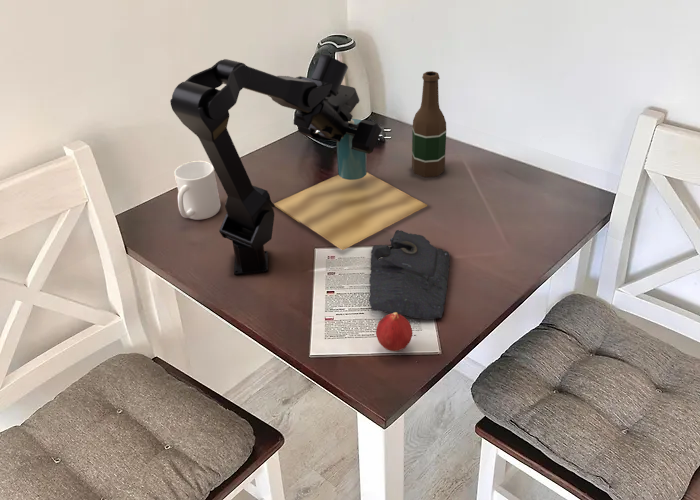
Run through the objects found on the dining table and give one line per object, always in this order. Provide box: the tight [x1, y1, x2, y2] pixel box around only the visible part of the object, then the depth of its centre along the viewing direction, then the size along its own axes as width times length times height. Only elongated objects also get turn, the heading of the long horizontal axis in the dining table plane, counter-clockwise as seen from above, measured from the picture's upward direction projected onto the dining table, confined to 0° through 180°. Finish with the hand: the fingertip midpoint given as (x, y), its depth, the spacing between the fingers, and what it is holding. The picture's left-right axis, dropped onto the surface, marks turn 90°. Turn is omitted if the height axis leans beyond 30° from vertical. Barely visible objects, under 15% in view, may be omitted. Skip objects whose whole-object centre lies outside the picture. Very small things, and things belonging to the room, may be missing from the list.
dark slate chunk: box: [368, 229, 451, 320], centre depth 121 cm, size 15×22×5 cm
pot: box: [335, 118, 368, 180], centre depth 146 cm, size 7×7×13 cm
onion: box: [375, 312, 413, 352], centre depth 106 cm, size 6×6×8 cm
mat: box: [273, 172, 428, 251], centre depth 144 cm, size 24×24×1 cm
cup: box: [173, 160, 221, 221], centre depth 141 cm, size 8×12×10 cm
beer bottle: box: [411, 70, 447, 178], centre depth 148 cm, size 8×8×24 cm
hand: (355, 143), depth 146 cm, fingers closed on pot, 6 cm apart
